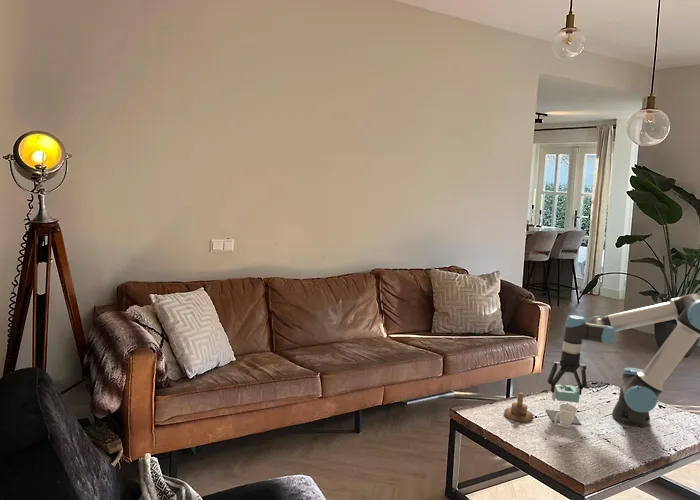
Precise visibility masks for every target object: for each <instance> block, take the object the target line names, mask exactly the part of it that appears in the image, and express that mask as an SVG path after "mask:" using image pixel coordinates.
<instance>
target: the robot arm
mask: <svg viewBox="0 0 700 500" xmlns="http://www.w3.org/2000/svg"><path fill="white" fill-rule="evenodd" d="M673 320H676V324H677V325H676V327H675V328H674V329H673V330H672V331H671V333H670V334H669V336H668V337H667V338H666V340H665V341H664V342H663V343H662V345H661V346H660V348H659V349H658V350H657V352H656V353H655V354H654V355H653V357H652V358H651V360H650V361H649V363H648V364H647V365H646V366H645V368H644V369H642V368H636V367H625V368H623V370H622V373H621V381H620V388H619V394H618V400H617V402H616V404H615V405H614V407H613V409H612V412H611V414H612V415H611V416H612V417H613V419H615V420H617V422H620V423H622V424H625V425H628V426H632V427H648V426H649V425H650V421H651V415H650V412H651V411H652V410H654V408H656V405H657V402H658V398H659V397H660V395H661V394H662V392H664V387H663V386H664V385H663V384H664V382H666V380H667V379H668V378H669V376H670V375H671V374H672V372H674V370H675V368H676V367H677V366H678V365H679V363H680V362H681V361H682V359H683V358H684V357H685V356H686V354H687V353H688V351H690V349H691V348H692V347H693V345H694V344H695V343H696V341H697V340H698V338H700V293H689V294H685V295H681V296H678V297H673V298H670V300H669V301H667V302H662V303H657V304H653V305H648V306H643V307H639V308H635V309H630V310H626V311H622V312H617V313H612V314H607V315H603V316H600V315H593V316H592V317H591V318H590V319H589V321H588V322H586V317H583V316H581V315H573V314H570V315H567V317H566V321H565V326H564V336H563V341H562V348H561V349H562V351H561V357H560V361H555V360H553V362H552V367H551V370H550V373H549V375H548V378H547V383H548V385H550V392H551V400H552V401H556V398H555V397H556V390H557V386H556V384H558V382H559V381H560V379H561V378H562V377H563V375H564V374H565V373H571V374H573V376H574V379H575V381H576V384H577V385H576V386H575V388H576V390H577V391H578V392H579V393H580V396H581V395H582V390H583V389H584V388H587V387H588V384H587V382H588V381H587V375H586V372H587V371H586V370H587V366H586V365H585V363H582V364H581V363H580V360H581V359H580V358H581V352H582V346H583V341H587V342H592V343H593V342H594V343H598V344H599V343H600V344H603V345H604V344H607V345H611V344H613V343H614V340H615V332H618V331H624V330H627V329H632V328H638V327H642V326H643V327H644V326H647V325H653V324H657V323H662V322H667V321H673ZM559 366H560V369H559V371H558V372H557V369H558V368H559ZM578 369H580V374H581V379H580V376H579V374H578ZM575 403H576V404H578V403H577V402H575Z"/></svg>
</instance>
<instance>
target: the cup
mask: <svg viewBox="0 0 700 500" xmlns="http://www.w3.org/2000/svg"><path fill="white" fill-rule="evenodd" d="M558 411H559V412H558V413H557V414H556V416H555V419H554V421H555V424H557V425H558V426H559V427H563V428H570V427H571V426H572V424H571V423H572V421H573V419H574V417H575V416H576V414H577V411H578V409H577V408H576V406H574V405H572V404H569V403H561V404H560V405H559V410H558ZM559 414H560V421H561V422H560V423H557V422H556V419H557V416H558V415H559Z"/></svg>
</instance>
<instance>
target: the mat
mask: <svg viewBox="0 0 700 500" xmlns="http://www.w3.org/2000/svg"><path fill="white" fill-rule="evenodd" d="M559 411H560V410H553V409H545V412H546V414H547V416H548V417H549V419H550V421H551V422H552V423H555V421H554V419H555V416H556V414H557V413H558V412H559ZM556 422H557V423H558V424H560V422H561V421H560V414H559V415H558V416H557V419H556ZM555 424H556V423H555ZM571 425H576V426H577V425H578V426H582V423H581V421H580V420H579V419H578V417H577V416H576V415H575V417H574V419H573V421H572V423H571Z"/></svg>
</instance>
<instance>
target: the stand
mask: <svg viewBox="0 0 700 500" xmlns="http://www.w3.org/2000/svg"><path fill="white" fill-rule="evenodd" d="M517 394H518V395H517V401H516V402H512V403H511V407H507V408H505V409H504V412H503V413H504V414H503V415H504V417H505V418H507V419H508V420H510V421H513V422H516V423H530V422H532V421H533V419H534V415H533V413H532V412H531V411H529V410H528V405H526V404H525V403H523V402H524V401H523V400H524V392H518V393H517Z"/></svg>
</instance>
